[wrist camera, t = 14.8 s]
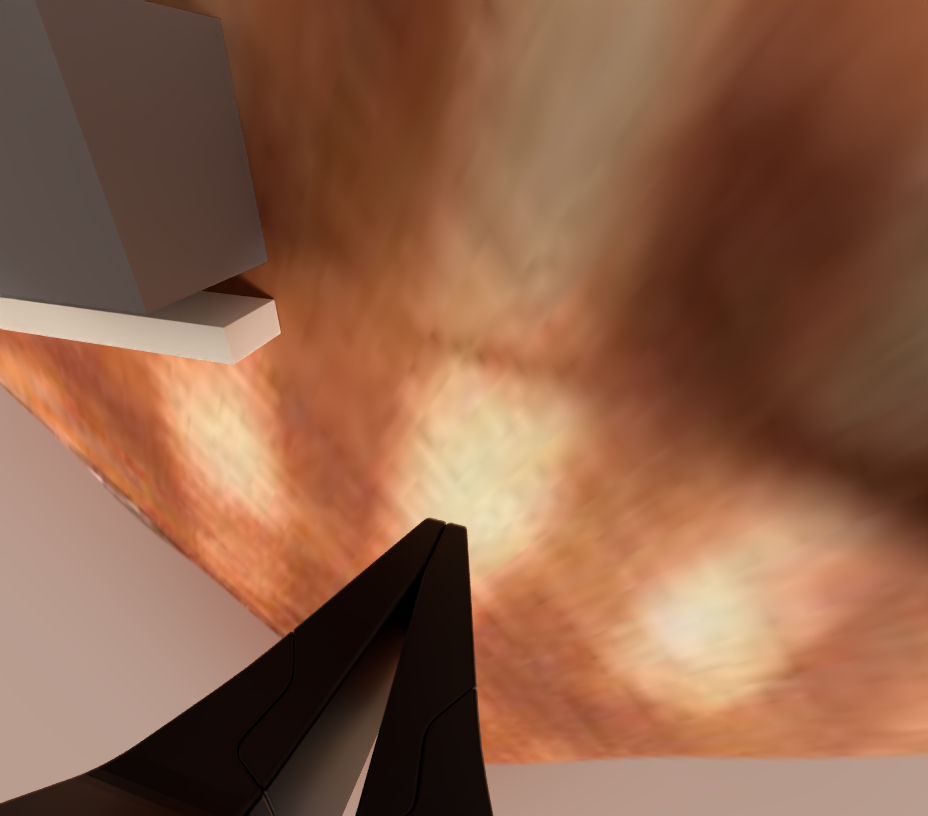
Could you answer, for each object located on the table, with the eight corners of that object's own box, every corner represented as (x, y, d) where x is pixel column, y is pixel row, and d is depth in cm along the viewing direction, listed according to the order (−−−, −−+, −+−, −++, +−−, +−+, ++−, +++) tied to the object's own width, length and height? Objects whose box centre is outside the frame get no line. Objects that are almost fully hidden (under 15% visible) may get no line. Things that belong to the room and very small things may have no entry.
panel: (225, 20, 12) (24, -29, 8) (272, 259, 15) (147, 314, 11) (-66, 24, 14) (-347, -13, 10) (30, 234, 17) (-152, 273, 13)
